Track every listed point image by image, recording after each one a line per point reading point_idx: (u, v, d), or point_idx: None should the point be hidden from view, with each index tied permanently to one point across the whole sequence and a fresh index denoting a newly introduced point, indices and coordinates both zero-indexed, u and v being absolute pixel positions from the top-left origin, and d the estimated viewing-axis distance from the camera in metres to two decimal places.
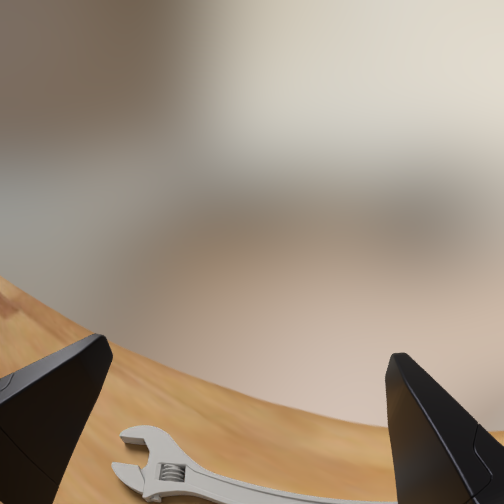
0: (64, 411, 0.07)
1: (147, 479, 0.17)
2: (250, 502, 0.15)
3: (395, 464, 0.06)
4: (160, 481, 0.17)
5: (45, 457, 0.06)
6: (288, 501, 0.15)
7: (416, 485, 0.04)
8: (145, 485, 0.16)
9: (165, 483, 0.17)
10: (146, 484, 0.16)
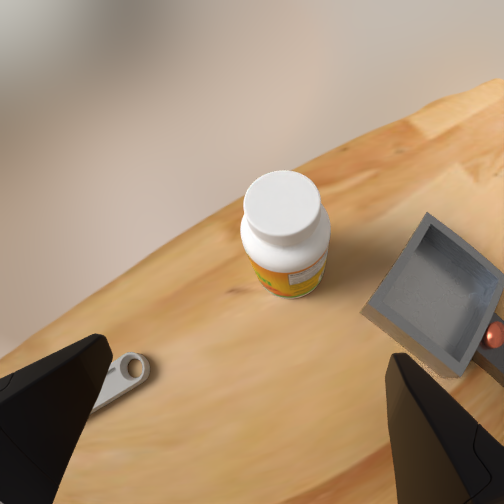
0: (64, 411, 0.07)
1: None
2: None
3: (395, 464, 0.06)
4: None
5: (45, 457, 0.06)
6: None
7: (416, 485, 0.04)
8: None
9: None
10: None
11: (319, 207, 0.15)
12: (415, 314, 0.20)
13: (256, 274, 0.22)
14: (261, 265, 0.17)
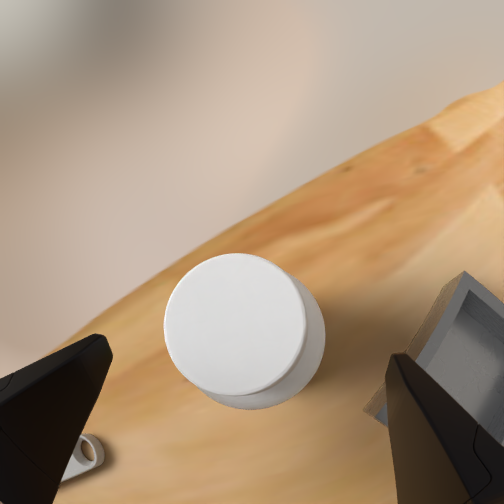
0: (64, 411, 0.07)
1: None
2: None
3: (395, 464, 0.06)
4: None
5: (45, 457, 0.06)
6: None
7: (416, 485, 0.04)
8: None
9: None
10: None
11: (303, 339, 0.07)
12: None
13: None
14: None
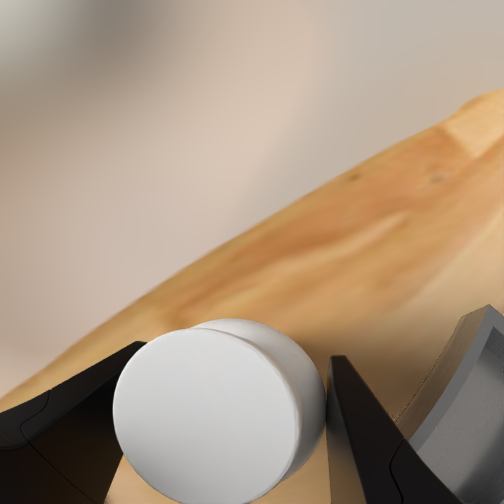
0: (109, 428, 0.06)
1: None
2: None
3: (329, 469, 0.06)
4: None
5: (88, 479, 0.05)
6: None
7: (340, 494, 0.05)
8: None
9: None
10: None
11: (294, 453, 0.05)
12: (446, 454, 0.10)
13: None
14: None
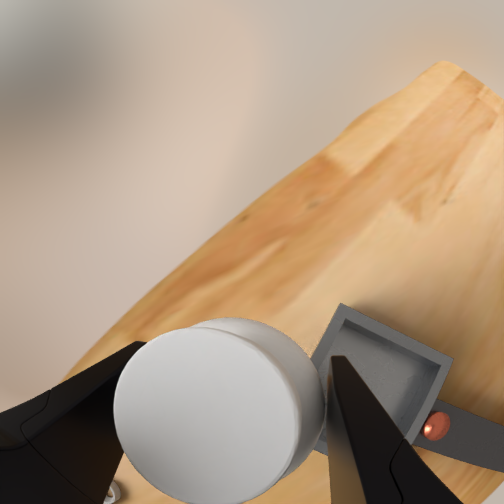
0: (109, 428, 0.06)
1: None
2: None
3: (329, 469, 0.06)
4: None
5: (88, 480, 0.05)
6: None
7: (340, 494, 0.05)
8: None
9: None
10: None
11: (294, 451, 0.05)
12: None
13: None
14: None
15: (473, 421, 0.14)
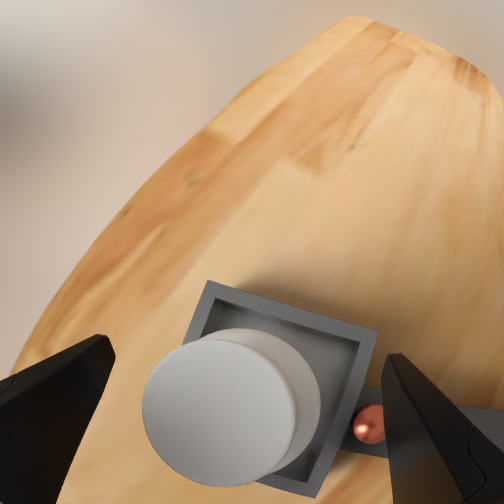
0: (67, 412, 0.07)
1: None
2: None
3: (390, 465, 0.06)
4: None
5: (48, 458, 0.06)
6: None
7: (411, 486, 0.04)
8: None
9: None
10: None
11: (291, 438, 0.06)
12: None
13: None
14: None
15: None
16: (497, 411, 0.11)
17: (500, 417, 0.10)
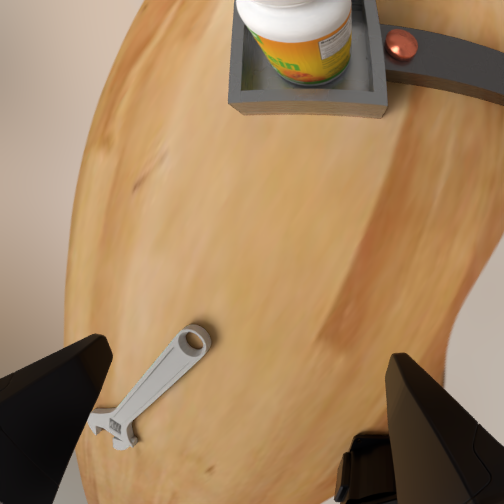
0: (64, 411, 0.07)
1: (120, 439, 0.28)
2: (136, 407, 0.26)
3: (395, 464, 0.06)
4: (121, 434, 0.28)
5: (45, 457, 0.06)
6: (139, 391, 0.25)
7: (416, 485, 0.04)
8: (125, 441, 0.28)
9: (122, 433, 0.28)
10: (124, 441, 0.28)
11: None
12: None
13: (276, 66, 0.15)
14: (282, 39, 0.11)
15: (446, 41, 0.12)
16: (503, 53, 0.11)
17: None
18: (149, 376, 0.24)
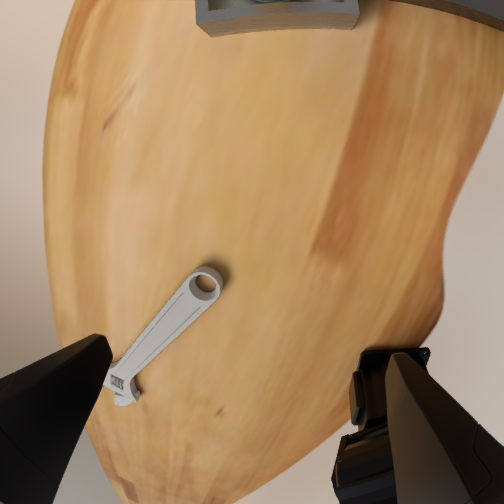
0: (64, 411, 0.07)
1: (123, 394, 0.30)
2: (140, 359, 0.27)
3: (395, 464, 0.06)
4: (124, 390, 0.29)
5: (45, 457, 0.06)
6: (144, 342, 0.26)
7: (416, 485, 0.04)
8: (127, 396, 0.30)
9: (125, 388, 0.29)
10: (127, 396, 0.30)
11: None
12: None
13: None
14: None
15: None
16: None
17: None
18: (155, 325, 0.24)
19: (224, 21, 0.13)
